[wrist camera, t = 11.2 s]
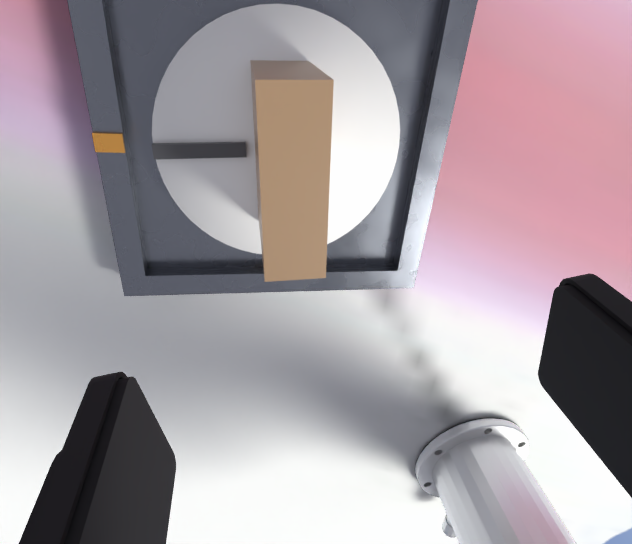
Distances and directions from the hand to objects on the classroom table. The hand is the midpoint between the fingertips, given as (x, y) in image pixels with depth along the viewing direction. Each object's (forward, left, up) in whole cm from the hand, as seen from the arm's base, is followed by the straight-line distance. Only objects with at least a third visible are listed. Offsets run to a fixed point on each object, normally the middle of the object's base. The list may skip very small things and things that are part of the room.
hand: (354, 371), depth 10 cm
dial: (0, 0, -19) cm, 19 cm away
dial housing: (0, 0, -20) cm, 20 cm away
